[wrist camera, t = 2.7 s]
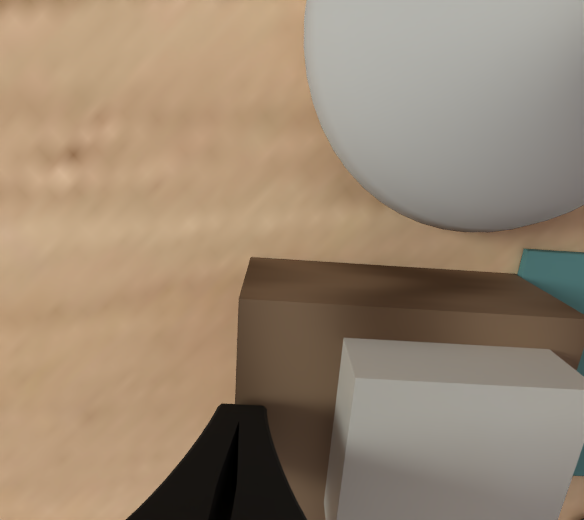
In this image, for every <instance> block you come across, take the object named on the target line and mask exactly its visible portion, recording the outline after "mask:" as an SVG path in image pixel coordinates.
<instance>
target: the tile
mask: <svg viewBox="0 0 584 520" xmlns="http://www.w3.org/2000/svg"><path fill="white" fill-rule="evenodd" d="M583 444H584V376H582V375H581V374H580V373H579V372H577V371H576V370H575V369H574V368H572V367H571V366H570V365H569V364H567V363H566V362H565V361H564V360H562V359H561V358H560V357H559V356H557V355H556V354H555V353H553V352H552V351H551V350H550V349H536V348H518V347H501V346H483V345H465V344H447V343H429V342H411V341H394V340H376V339H358V338H344V339H343V347H342V355H341V364H340V372H339V380H338V389H337V397H336V405H335V414H334V422H333V430H332V438H331V447H330V455H329V463H328V472H327V480H326V488H325V497H324V509H325V518H326V520H558V517H559V514H560V511H561V509H562V506H563V503H564V500H565V497H566V494H567V491H568V488H569V485H570V482H571V479H572V476H573V473H574V471H575V468H576V465H577V462H578V459H579V456H580V453H581V450H582V447H583Z"/></svg>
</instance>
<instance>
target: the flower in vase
mask: <svg viewBox="0 0 584 520" xmlns="http://www.w3.org/2000/svg"><path fill="white" fill-rule="evenodd" d="M304 54H305V64H306V74H307V79H308V84H309V88H310V92H311V97H312V101H313V105H314V107H315V110H316V113H317V116H318V118H319V121H320V124H321V127H322V129H323V131H324V133H325V135H326V137H327V139H328V141H329V143H330V144H331V146H332V148H333V150H334V152H335V153H336V155H337V156H338V157H339V159H340V160H341V162H342V163H343V165H344V166H345V168H346V169H347V170H348V171H349V172H350V174H351V175H352V176H353V177H354V178H355V179H356V180H357V181H358V182H359V183H360V184H361V186H362V187H363V188H364V189H366V190H367V191H368V192H369V193H371V194H372V195H373V196H374V197H375V198H377V199H378V200H379V201H380V202H382V203H383V204H385V205H386V206H388V207H390V208H391V209H393V210H395V211H396V212H398V213H399V214H401V215H404V216H406V217H408V218H411V219H413V220H415V221H417V222H420V223H423V224H426V225H430V226H433V227H437V228H441V229H446V230H453V231H460V232H494V231H503V230H511V229H515V228H519V227H523V226H527V225H531V224H535V223H539V222H542V221H546V220H549V219H552V218H555V217H557V216H560V215H563V214H565V213H568V212H571V211H573V210H575V209H577V208H579V207H581V206H583V205H584V0H307V1H306V8H305V16H304Z"/></svg>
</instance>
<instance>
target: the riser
mask: <svg viewBox="0 0 584 520" xmlns="http://www.w3.org/2000/svg"><path fill="white" fill-rule="evenodd" d="M344 338H358V339H376V340H394V341H411V342H429V343H447V344H465V345H483V346H501V347H518V348H536V349H550V350H551V351H552V352H553V353H555V354H556V355H557V356H559V357H560V358H561V359H562V360H564V361H565V362H566V363H567V364H569V365H570V366H571V367H572V368H574V369H575V370H576V371H577V368H578V365H579V362H580V359H581V356H582V352H583V349H584V314H582V313H581V312H579V311H577V310H575V309H574V308H572V307H570V306H569V305H567V304H565V303H564V302H562V301H560V300H558V299H557V298H555V297H553V296H552V295H550V294H548V293H547V292H545V291H543V290H541V289H540V288H538V287H536V286H535V285H533V284H531V283H530V282H528V281H526V280H525V279H523V278H521V277H519V276H518V275H516V274H508V273H492V272H476V271H460V270H444V269H428V268H413V267H397V266H381V265H365V264H349V263H333V262H317V261H301V260H286V259H270V258H254V257H251V258H250V262H249V265H248V269H247V272H246V276H245V279H244V283H243V286H242V290H241V293H240V297H239V309H238V337H237V366H236V394H235V404H241V405H262V406H264V407H265V408H266V409H267V417H268V424H269V428H270V432H271V436H272V440H273V443H274V446H275V449H276V452H277V455H278V458H279V461H280V463H281V466H282V468H283V471H284V473H285V476H286V478H287V480H288V483H289V485H290V487H291V489H292V491H293V494H294V496H295V498H296V500H297V502H298V504H299V505H300V507H301V509H302V511H303V513H304V515H305V517H306V518H307V520H326V518H325V509H324V497H325V488H326V480H327V472H328V463H329V455H330V447H331V438H332V430H333V422H334V414H335V405H336V397H337V389H338V380H339V372H340V364H341V355H342V347H343V339H344Z"/></svg>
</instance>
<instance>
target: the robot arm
mask: <svg viewBox="0 0 584 520" xmlns="http://www.w3.org/2000/svg"><path fill="white" fill-rule="evenodd" d="M126 520H307V518H306V517H305V515H304V513H303V511H302V509H301V507H300V505H299V504H298V502H297V500H296V498H295V496H294V494H293V491H292V489H291V487H290V485H289V483H288V480H287V478H286V476H285V473H284V471H283V468H282V466H281V463H280V461H279V458H278V455H277V452H276V449H275V446H274V443H273V440H272V436H271V432H270V428H269V424H268V417H267V409H266V408H265V407H264V406H262V405H241V404H221V405H219V406H218V408H217V409H216V411H215V413H214V415H213V417H212V418H211V420H210V421H209V423H208V425H207V426H206V428H205V429H204V431H203V432H202V434H201V435H200V436H199V438H198V439H197V441H196V442H195V443H194V445H193V446H192V447H191V449H190V450H189V451H188V453H187V454H186V455H185V457H184V458H183V459H182V460H181V461H180V463H179V464H178V465H177V466H176V467H175V469H174V470H173V471H172V472H171V473H170V475H169V476H168V477H167V478H166V479H165V481H164V482H163V483H162V484H161V485H160V486H159V487H158V488H157V489H156V490H155V491H154V492H153V494H152V495H151V496H150V497H149V498H148V499H147V500H146V501H145V502H144V503H143V504H142V505H141V506H140V507H139V508H138V509H137V510H136V511H135V512H133V513H132V514H131V515H130V516H129V517H128V518H127V519H126ZM583 520H584V519H583Z"/></svg>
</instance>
